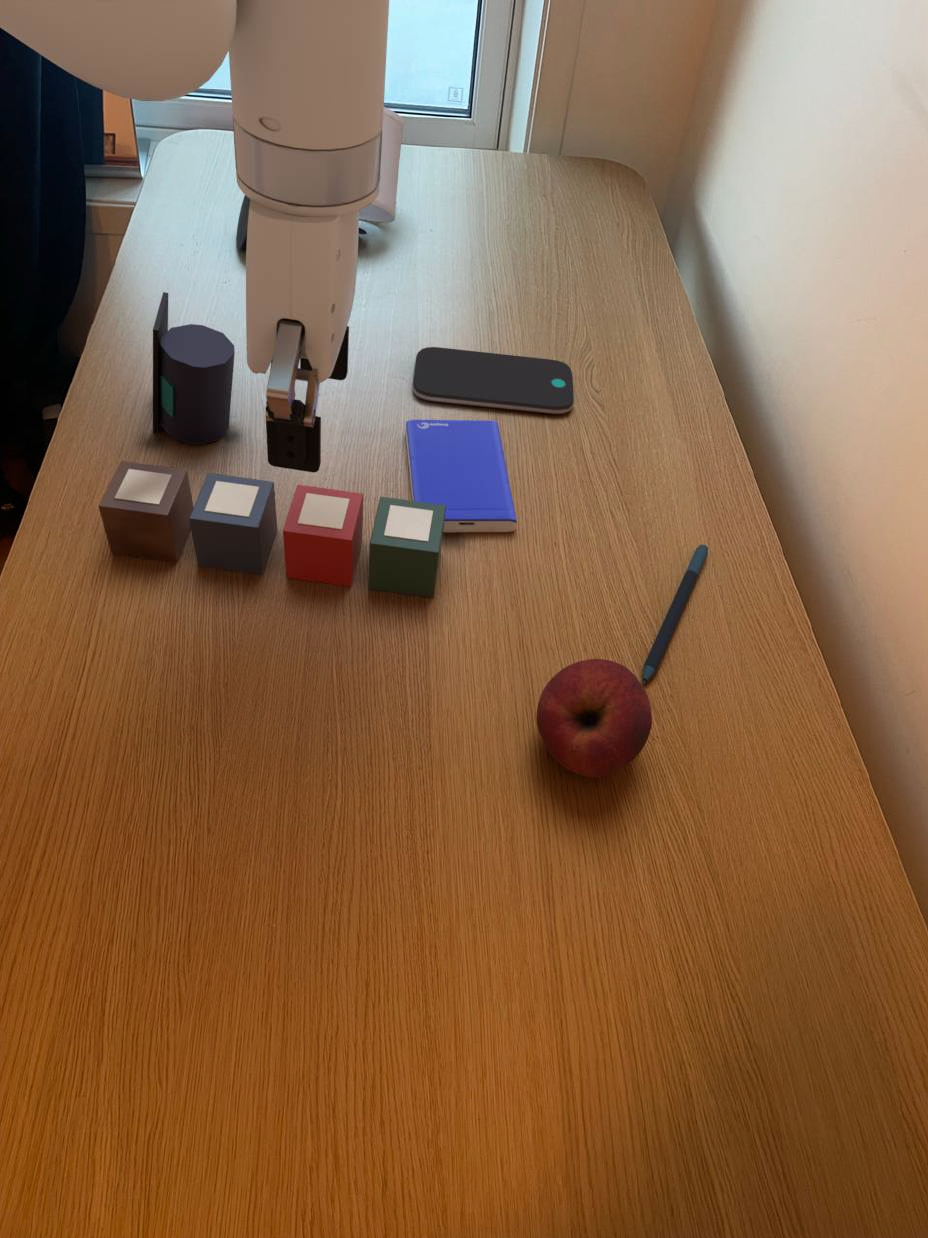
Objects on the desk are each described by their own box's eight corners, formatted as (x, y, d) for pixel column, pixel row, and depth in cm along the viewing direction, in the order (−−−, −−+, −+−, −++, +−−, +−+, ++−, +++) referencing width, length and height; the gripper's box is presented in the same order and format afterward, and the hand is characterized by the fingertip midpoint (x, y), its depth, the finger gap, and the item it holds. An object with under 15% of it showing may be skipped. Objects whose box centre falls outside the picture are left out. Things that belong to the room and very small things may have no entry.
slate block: (197, 566, 71) (188, 517, 67) (214, 520, 74) (207, 471, 70) (263, 574, 71) (258, 526, 67) (277, 528, 74) (273, 480, 70)
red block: (285, 577, 71) (282, 529, 67) (299, 531, 74) (297, 483, 70) (351, 586, 71) (352, 539, 67) (362, 540, 74) (363, 492, 70)
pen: (634, 685, 68) (638, 675, 67) (695, 550, 77) (699, 539, 76) (648, 691, 67) (652, 681, 66) (707, 554, 77) (712, 544, 76)
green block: (368, 589, 71) (369, 542, 67) (378, 542, 74) (380, 494, 70) (433, 598, 71) (439, 551, 67) (440, 551, 74) (446, 504, 70)
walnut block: (111, 554, 70) (97, 504, 67) (132, 508, 74) (120, 459, 70) (177, 563, 71) (167, 514, 67) (195, 517, 74) (187, 468, 70)
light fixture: (393, 289, 100) (428, 120, 97) (248, 245, 93) (281, 61, 90) (363, 292, 109) (394, 137, 106) (229, 252, 102) (258, 85, 99)
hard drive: (405, 418, 82) (416, 519, 74) (498, 419, 83) (517, 518, 75) (405, 432, 83) (415, 533, 75) (495, 433, 84) (515, 532, 76)
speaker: (128, 430, 79) (120, 322, 71) (163, 394, 83) (159, 289, 75) (211, 461, 79) (212, 356, 71) (242, 424, 83) (246, 321, 75)
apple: (503, 745, 63) (521, 675, 57) (576, 682, 67) (599, 611, 61) (588, 818, 60) (616, 753, 54) (659, 748, 64) (692, 680, 58)
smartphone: (574, 409, 86) (411, 392, 85) (573, 417, 86) (411, 400, 86) (572, 360, 91) (417, 343, 90) (570, 368, 91) (417, 351, 91)
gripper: (274, 79, 54) (281, 336, 67) (190, 222, 43) (218, 497, 56) (402, 101, 55) (385, 352, 68) (352, 248, 43) (343, 516, 56)
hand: (309, 418), depth 62 cm, fingers open, 9 cm apart
